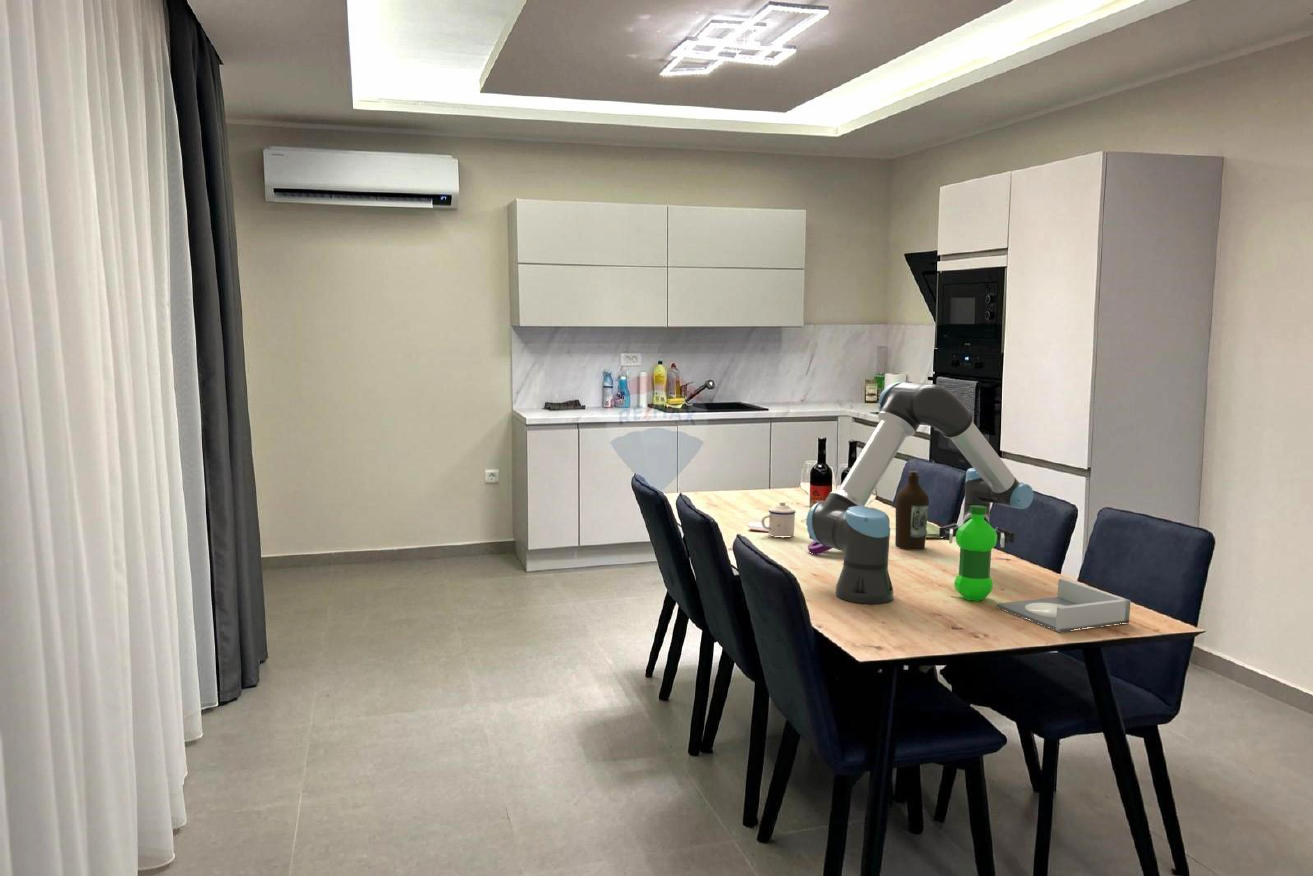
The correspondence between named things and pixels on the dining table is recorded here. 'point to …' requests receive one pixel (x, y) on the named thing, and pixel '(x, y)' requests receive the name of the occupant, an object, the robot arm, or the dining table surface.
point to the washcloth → (932, 531)
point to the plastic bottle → (975, 555)
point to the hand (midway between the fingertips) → (976, 540)
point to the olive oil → (911, 514)
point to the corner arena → (1073, 608)
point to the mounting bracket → (817, 548)
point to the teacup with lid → (780, 520)
